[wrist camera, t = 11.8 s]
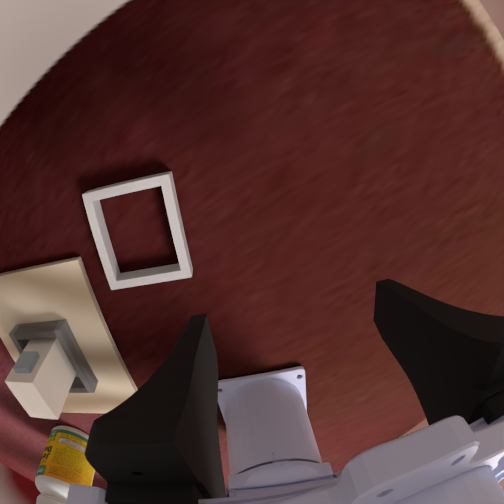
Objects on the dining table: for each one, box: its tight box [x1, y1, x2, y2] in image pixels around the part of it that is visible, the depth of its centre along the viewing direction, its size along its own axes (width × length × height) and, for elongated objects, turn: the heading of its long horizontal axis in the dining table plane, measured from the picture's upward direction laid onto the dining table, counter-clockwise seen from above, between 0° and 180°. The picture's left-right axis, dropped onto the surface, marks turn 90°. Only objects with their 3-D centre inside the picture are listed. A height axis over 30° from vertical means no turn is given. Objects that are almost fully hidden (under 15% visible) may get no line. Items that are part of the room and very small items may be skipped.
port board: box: [0, 257, 138, 413], centre depth 22 cm, size 16×12×2 cm
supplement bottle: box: [35, 425, 95, 504], centre depth 24 cm, size 6×6×11 cm
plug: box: [5, 337, 76, 420], centre depth 20 cm, size 4×3×6 cm, turn 6°
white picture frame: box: [82, 171, 193, 290], centre depth 20 cm, size 7×6×1 cm
